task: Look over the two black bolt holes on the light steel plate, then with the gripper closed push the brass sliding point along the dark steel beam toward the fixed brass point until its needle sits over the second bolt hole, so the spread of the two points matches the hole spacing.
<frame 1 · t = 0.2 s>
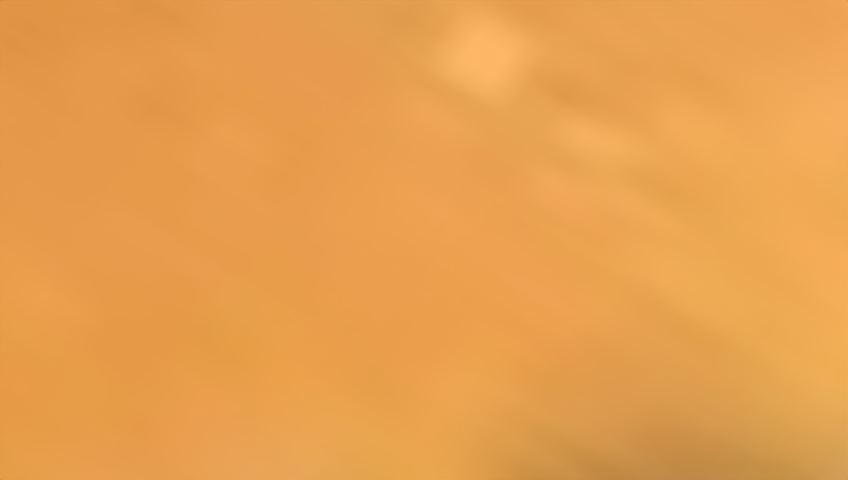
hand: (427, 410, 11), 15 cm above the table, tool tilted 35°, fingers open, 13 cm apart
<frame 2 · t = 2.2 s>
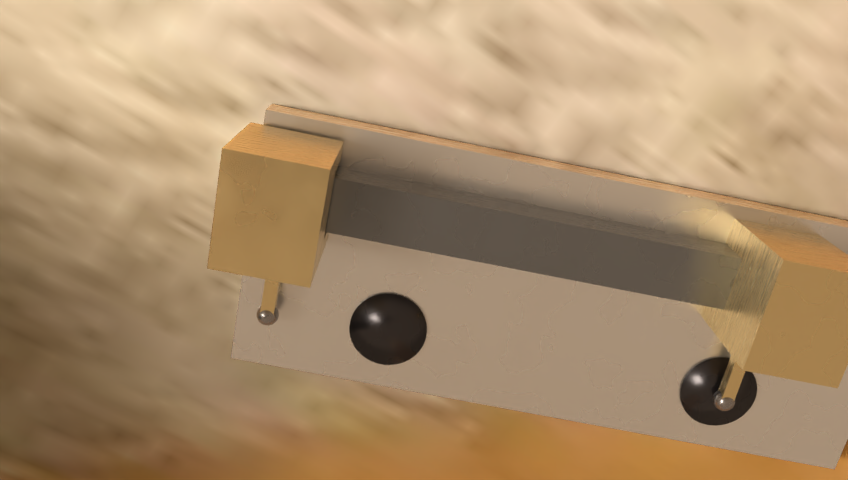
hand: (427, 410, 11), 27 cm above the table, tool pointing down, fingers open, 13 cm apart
bolt plate: (563, 299, 39), on the table
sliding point: (271, 248, 34), point 4 cm above the table, slide at 5.5 cm
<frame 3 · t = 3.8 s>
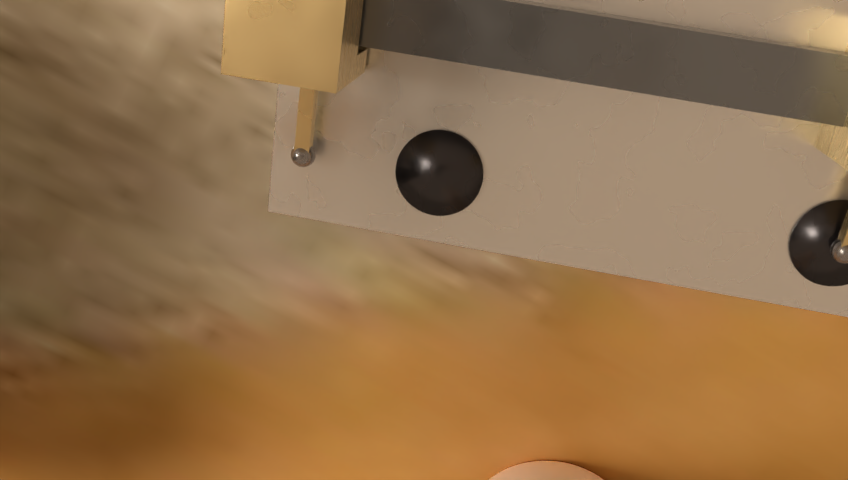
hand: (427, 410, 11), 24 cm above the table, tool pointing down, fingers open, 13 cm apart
bolt plate: (644, 139, 33), on the table
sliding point: (299, 63, 30), point 4 cm above the table, slide at 5.5 cm
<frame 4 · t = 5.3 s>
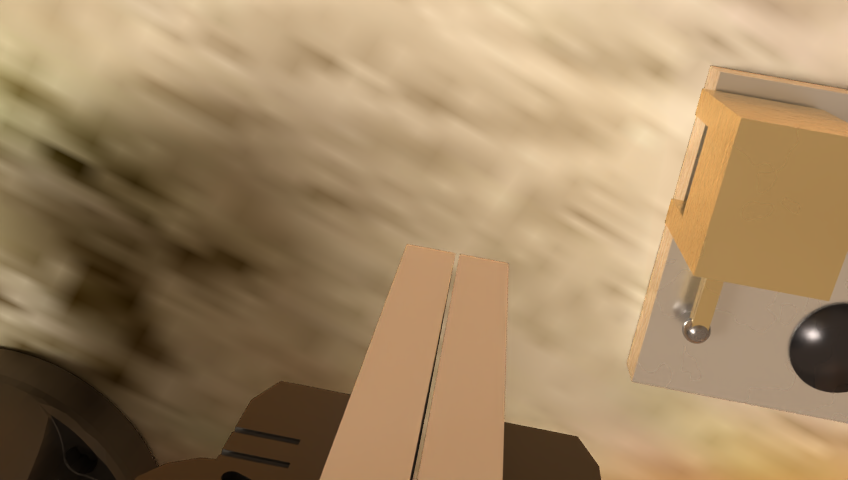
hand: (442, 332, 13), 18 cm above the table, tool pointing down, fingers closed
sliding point: (742, 248, 26), point 4 cm above the table, slide at 5.5 cm
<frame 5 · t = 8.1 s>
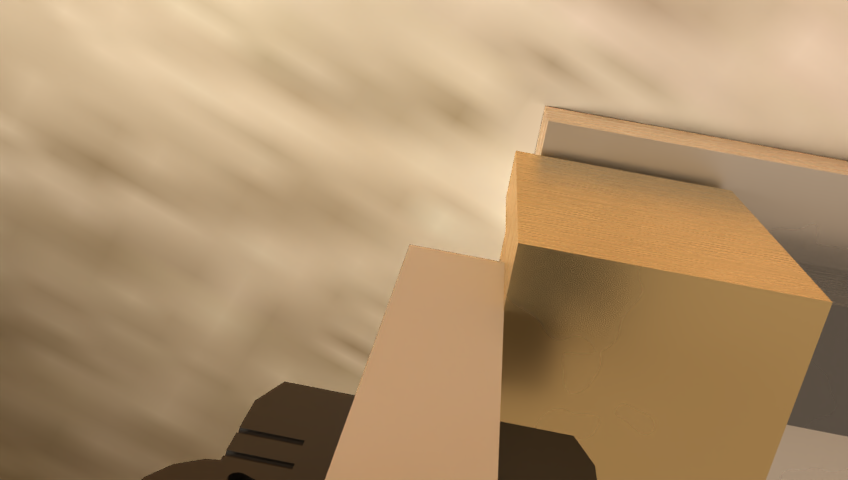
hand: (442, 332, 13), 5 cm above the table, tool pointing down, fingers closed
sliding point: (578, 450, 14), point 4 cm above the table, slide at 5.5 cm, touching gripper
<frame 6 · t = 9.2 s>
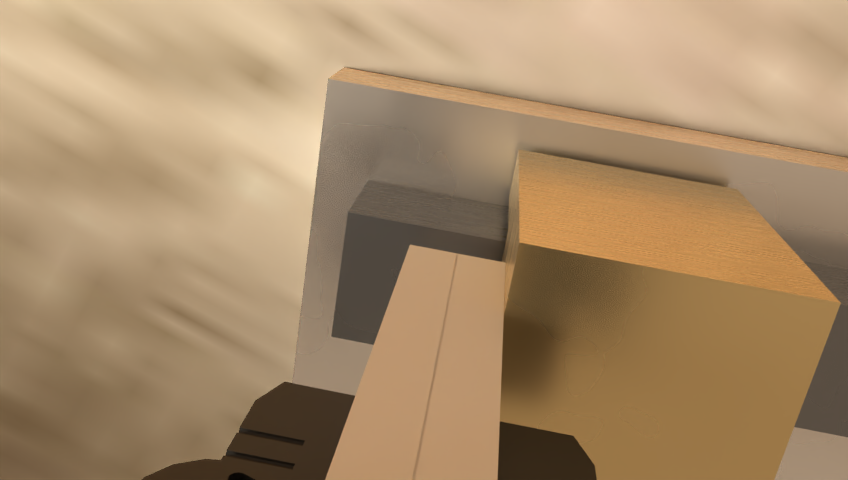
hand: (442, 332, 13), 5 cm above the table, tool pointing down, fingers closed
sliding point: (582, 453, 14), point 4 cm above the table, slide at 1.3 cm, touching gripper
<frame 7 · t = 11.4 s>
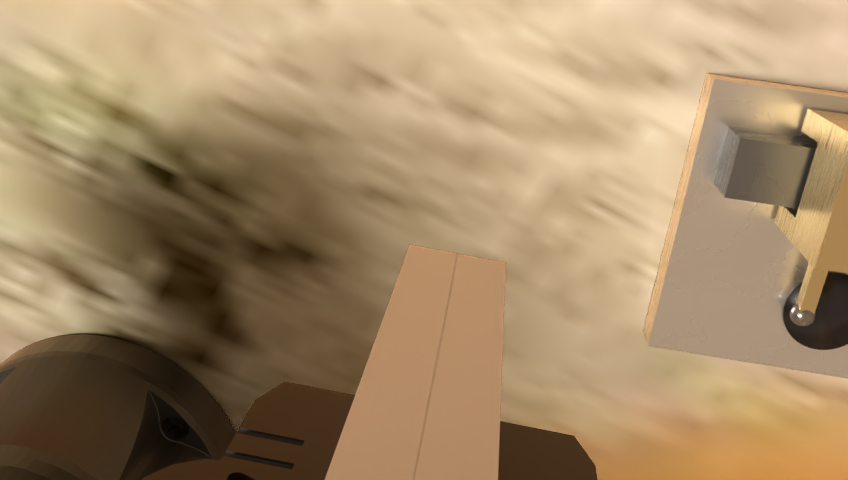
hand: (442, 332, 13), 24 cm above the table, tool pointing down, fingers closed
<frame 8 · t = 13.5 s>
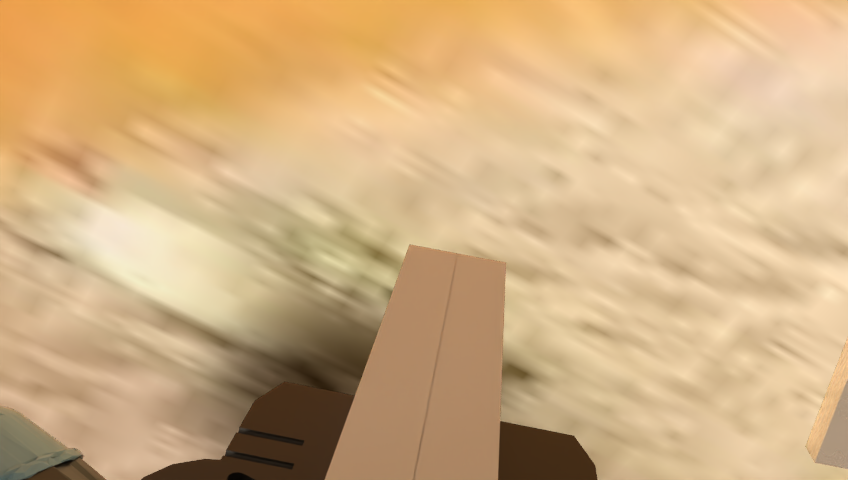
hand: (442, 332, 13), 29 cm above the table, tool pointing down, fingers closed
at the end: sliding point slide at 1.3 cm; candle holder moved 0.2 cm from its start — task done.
